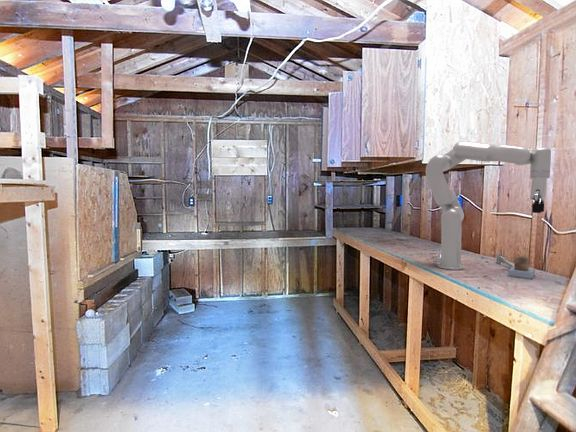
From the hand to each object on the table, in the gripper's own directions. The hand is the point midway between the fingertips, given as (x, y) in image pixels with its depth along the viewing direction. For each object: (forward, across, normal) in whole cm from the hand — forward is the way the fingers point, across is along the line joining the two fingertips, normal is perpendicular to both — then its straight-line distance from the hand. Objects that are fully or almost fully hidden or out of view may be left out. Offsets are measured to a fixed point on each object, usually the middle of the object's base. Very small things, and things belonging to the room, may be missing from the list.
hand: (538, 212), depth 162 cm
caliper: (+31, -15, -14) cm, 37 cm away
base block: (+30, +3, -5) cm, 31 cm away
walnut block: (+27, +3, -5) cm, 28 cm away
